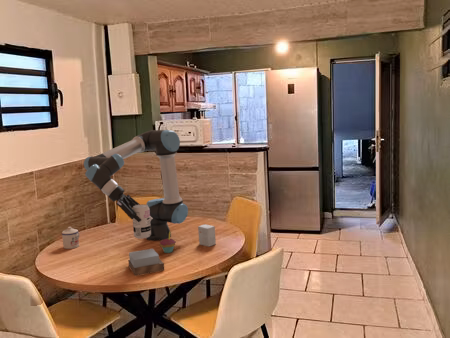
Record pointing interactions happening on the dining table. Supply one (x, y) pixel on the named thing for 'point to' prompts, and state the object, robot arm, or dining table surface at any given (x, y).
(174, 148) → the robot arm
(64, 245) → the teacup with lid
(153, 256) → the tower top slab
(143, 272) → the tower base slab
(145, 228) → the supplement can
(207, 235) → the small box
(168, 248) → the cupcake
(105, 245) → the dining table surface
